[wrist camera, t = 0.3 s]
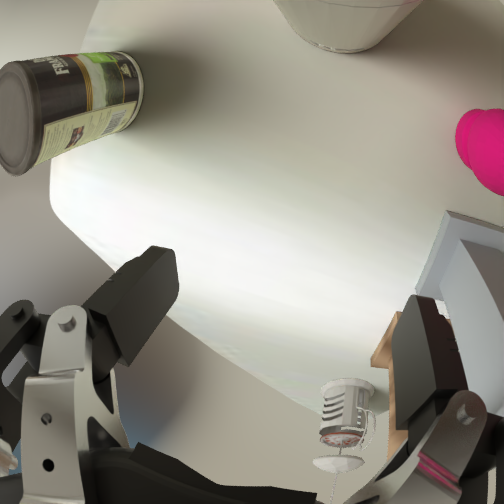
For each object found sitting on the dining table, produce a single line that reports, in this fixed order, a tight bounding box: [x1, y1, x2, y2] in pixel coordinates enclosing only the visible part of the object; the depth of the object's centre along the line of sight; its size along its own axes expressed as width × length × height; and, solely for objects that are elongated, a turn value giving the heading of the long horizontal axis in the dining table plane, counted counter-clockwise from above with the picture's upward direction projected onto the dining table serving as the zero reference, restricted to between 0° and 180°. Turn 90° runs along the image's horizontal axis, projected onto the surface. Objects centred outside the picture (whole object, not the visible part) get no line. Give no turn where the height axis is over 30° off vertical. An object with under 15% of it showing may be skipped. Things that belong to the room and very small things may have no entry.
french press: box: [313, 378, 376, 504], centre depth 32 cm, size 10×12×25 cm
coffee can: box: [0, 51, 144, 176], centre depth 19 cm, size 10×10×14 cm
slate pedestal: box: [415, 211, 504, 469], centre depth 15 cm, size 10×13×22 cm
